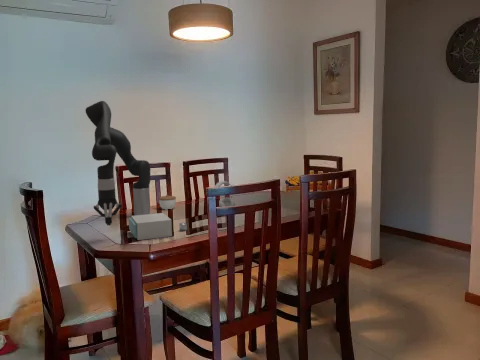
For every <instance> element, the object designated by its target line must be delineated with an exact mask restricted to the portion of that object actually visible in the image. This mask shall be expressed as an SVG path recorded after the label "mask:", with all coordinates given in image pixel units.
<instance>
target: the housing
mask: <svg viewBox="0 0 480 360" xmlns="http://www.w3.org/2000/svg"><path fill="white" fill-rule="evenodd" d="M130 217H131V218H132V220H133V221H134V222H135V224H136V226H137V238H136V240H137V241H144V240H151V239H162V238H168V237H169V238H170V237H173V233H172V232H173V228H172V226H173V225H172V224H173V223H172V219H171V218H170V217H168V216H167V215H166V214H165V213H164V212H159V213H150V214H146V215H135V216H134V215H131V216H130Z"/></svg>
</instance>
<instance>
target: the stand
mask: <svg viewBox="0 0 480 360" xmlns="http://www.w3.org/2000/svg"><path fill="white" fill-rule="evenodd" d="M178 224H179V231H180V232H187V230H188V225H187V222H180V223H178Z"/></svg>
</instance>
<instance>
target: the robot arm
mask: <svg viewBox="0 0 480 360" xmlns="http://www.w3.org/2000/svg"><path fill="white" fill-rule="evenodd" d="M85 113H86V114H85V115H86V116H87V118H88V119H89V120H90V122H91V123H92V124H93V125H94V127H95V130H94V145H93V147H92V150H91V154H92V158H93V159H94V160H95V161H99V162H100V161H108V162H107V163H106V164H103V165H100V166H97V172H96V173H97V193H98V200H97V204H95V205H93V209H94V210H95V212H97V214H98V215H100V216H101V217H103V218H104V223H105V224H106V225H107V226H111V225H112V224H113V220H112V219H113V217H114V216H116V215H117V213H119V211H120V210H121V208H122V204H121V203H119V202H118V200H117V199H116V197H117V196H116V182H115V174H114V173H115V172H114V165H115V160H116V156H117V154H118V156H119V158H120V159H121V160H122V162H123V163H124V165H125V167H126V168H127V170H128V171H129V173H130V174H131V175H132V176H135V177H138V180H137V181H135V182H133V184H132V191H133V192H132V193H133V194H132V195H133V196H132V197H133V216H135V215H146V214H151V198H150V197H151V196H150V195H151V194H150V184H151V165H150V162H149V161H148V160H144V159H143V160H142V159H141V160H139V159H136V158H135V157H134V155H133V153H132V147H131V142H130V140H129V139H128V137H127V136H126V135H125V133H124V132H123V131H121V130H118V129H116V128H114V127H111V121H112V111H111V108H110V106H109V104H108V103H107V102H106V101H105V100H99V101H98V102H95V103H93V104H91V105H88V106H87V107H86V108H85ZM100 208H101V209H102V210H103V211H101V210H100ZM113 209H114V210H113ZM103 212H104V213H103Z"/></svg>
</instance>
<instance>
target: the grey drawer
mask: <svg viewBox="0 0 480 360" xmlns="http://www.w3.org/2000/svg"><path fill="white" fill-rule="evenodd" d="M128 229H129V231H130V233H131V235H132V236H133V237H134V239H137V226H136V224H135V222H134V221H133V220H132V218H131V216H130V217H128Z"/></svg>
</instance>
